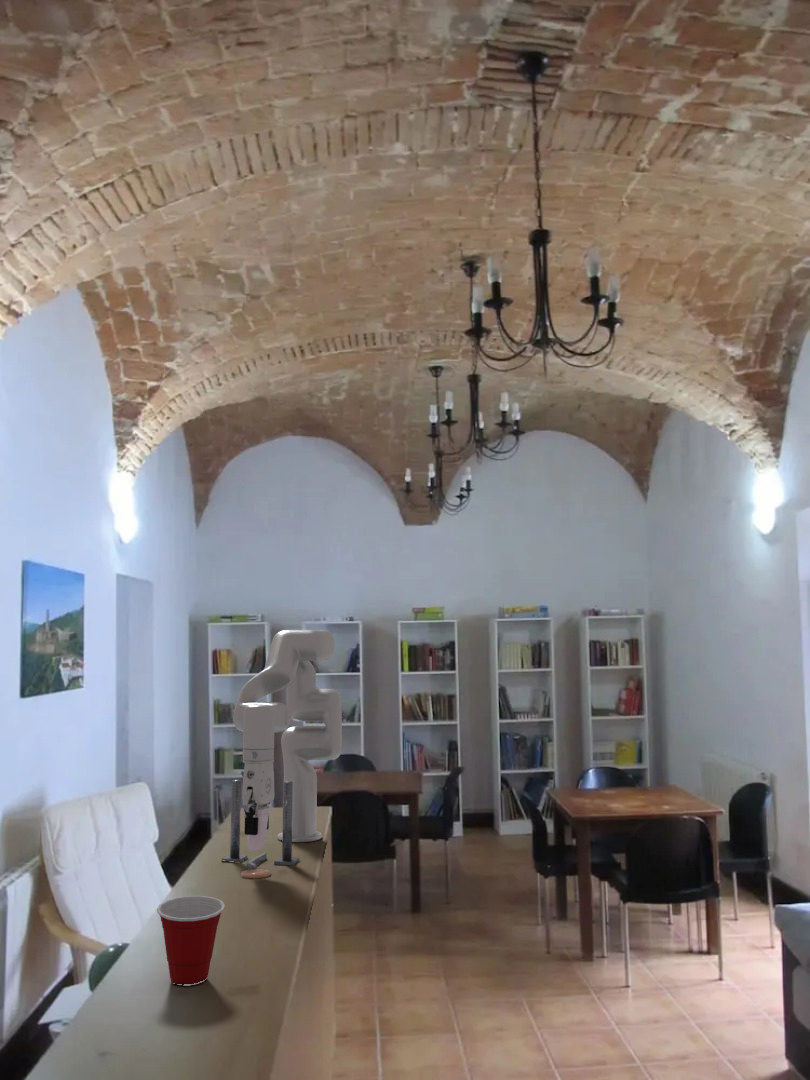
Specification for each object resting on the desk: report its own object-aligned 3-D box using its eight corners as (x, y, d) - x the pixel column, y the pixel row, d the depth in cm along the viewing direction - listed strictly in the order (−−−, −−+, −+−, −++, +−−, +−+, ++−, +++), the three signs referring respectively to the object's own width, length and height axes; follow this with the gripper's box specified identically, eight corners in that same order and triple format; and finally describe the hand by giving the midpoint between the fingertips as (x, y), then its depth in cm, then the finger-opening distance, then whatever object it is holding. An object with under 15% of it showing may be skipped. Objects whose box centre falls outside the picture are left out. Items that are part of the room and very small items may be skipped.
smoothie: (265, 852, 218) (267, 791, 220) (239, 851, 219) (240, 790, 221) (272, 846, 225) (273, 787, 226) (246, 846, 225) (248, 787, 227)
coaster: (247, 871, 225) (247, 868, 225) (274, 872, 224) (274, 869, 224) (236, 877, 218) (236, 875, 218) (264, 879, 217) (264, 876, 217)
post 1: (229, 857, 240) (231, 778, 242) (247, 858, 239) (249, 779, 241) (221, 861, 235) (223, 781, 238) (240, 862, 234) (241, 781, 237)
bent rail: (263, 858, 239) (263, 852, 239) (275, 859, 238) (275, 853, 238) (242, 871, 225) (242, 864, 225) (255, 871, 224) (255, 865, 225)
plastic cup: (155, 996, 143) (157, 915, 145) (153, 973, 153) (156, 898, 155) (226, 989, 146) (228, 910, 148) (220, 967, 156) (221, 893, 158)
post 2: (280, 860, 237) (282, 780, 239) (299, 861, 236) (300, 780, 238) (274, 864, 232) (275, 783, 235) (292, 865, 231) (294, 783, 234)
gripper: (259, 760, 215) (258, 839, 213) (285, 752, 232) (283, 826, 230) (229, 759, 217) (227, 838, 215) (256, 752, 234) (255, 825, 231)
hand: (256, 831), depth 222 cm, fingers closed on smoothie, 6 cm apart
